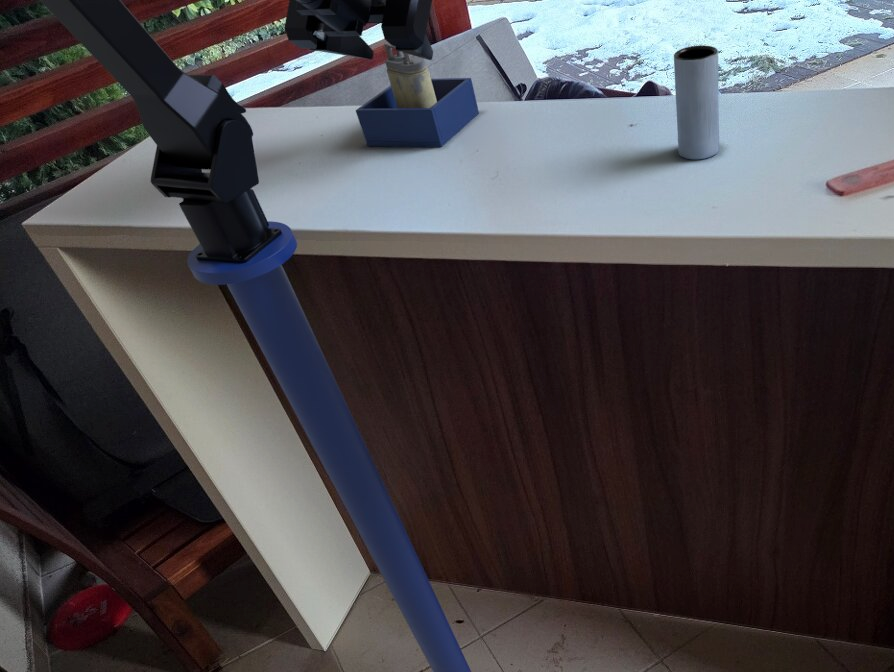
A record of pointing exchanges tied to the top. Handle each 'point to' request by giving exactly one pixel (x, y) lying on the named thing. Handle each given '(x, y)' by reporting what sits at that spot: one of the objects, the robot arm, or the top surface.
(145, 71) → the robot arm
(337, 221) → the top surface
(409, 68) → the lighter
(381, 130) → the box
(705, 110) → the grey tall cylinder
